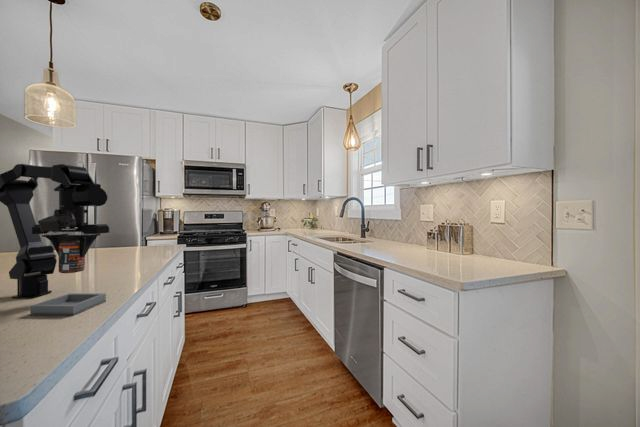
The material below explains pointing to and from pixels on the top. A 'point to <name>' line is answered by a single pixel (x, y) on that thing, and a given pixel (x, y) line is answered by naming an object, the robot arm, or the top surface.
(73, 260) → the supplement bottle
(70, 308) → the tray
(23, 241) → the robot arm
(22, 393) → the top surface
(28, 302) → the top surface
